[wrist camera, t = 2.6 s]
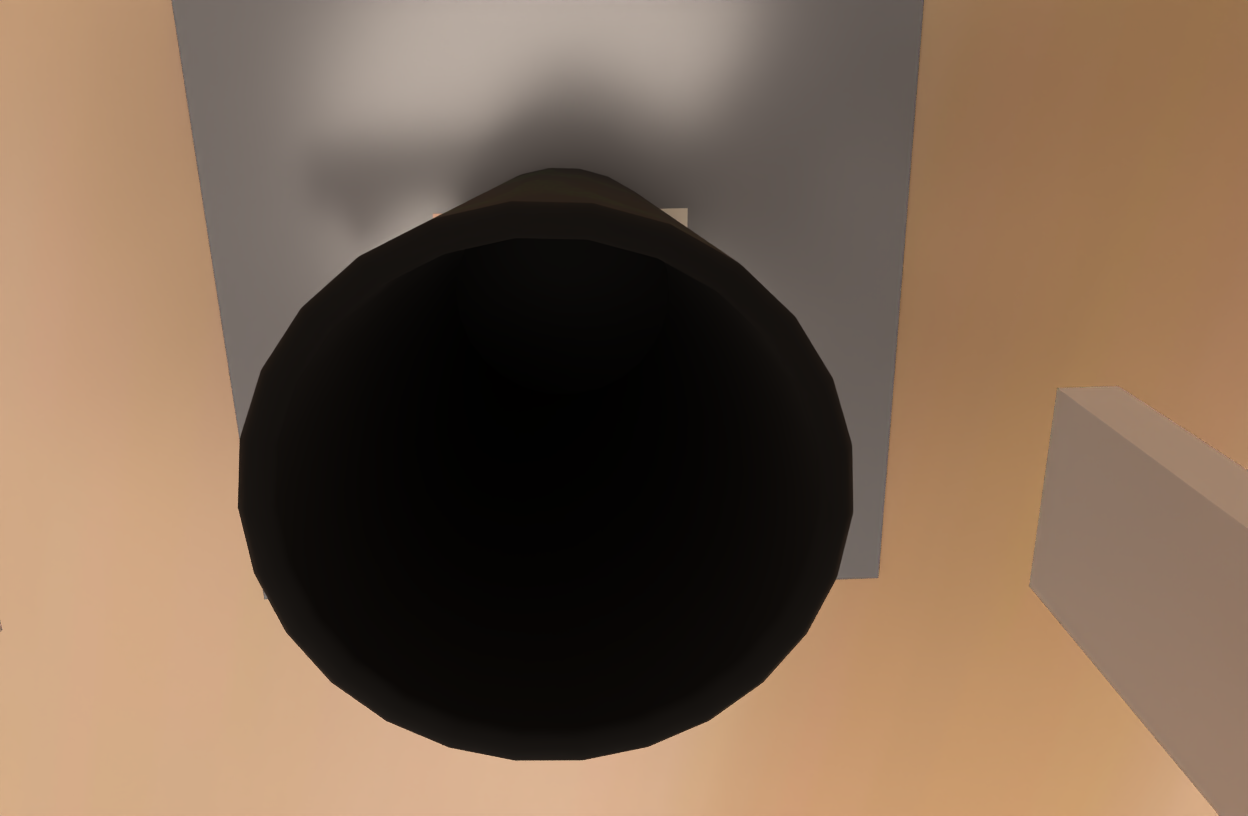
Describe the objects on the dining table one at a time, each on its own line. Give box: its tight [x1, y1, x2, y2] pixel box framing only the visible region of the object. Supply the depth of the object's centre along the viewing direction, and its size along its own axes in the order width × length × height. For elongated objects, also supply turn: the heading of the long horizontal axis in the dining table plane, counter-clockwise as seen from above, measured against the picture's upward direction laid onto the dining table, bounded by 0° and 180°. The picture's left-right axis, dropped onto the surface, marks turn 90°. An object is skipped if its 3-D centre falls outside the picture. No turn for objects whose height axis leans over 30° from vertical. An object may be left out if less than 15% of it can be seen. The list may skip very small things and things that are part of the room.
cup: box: [238, 168, 853, 760], centre depth 18 cm, size 8×8×12 cm
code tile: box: [172, 0, 924, 599], centre depth 25 cm, size 16×16×1 cm
